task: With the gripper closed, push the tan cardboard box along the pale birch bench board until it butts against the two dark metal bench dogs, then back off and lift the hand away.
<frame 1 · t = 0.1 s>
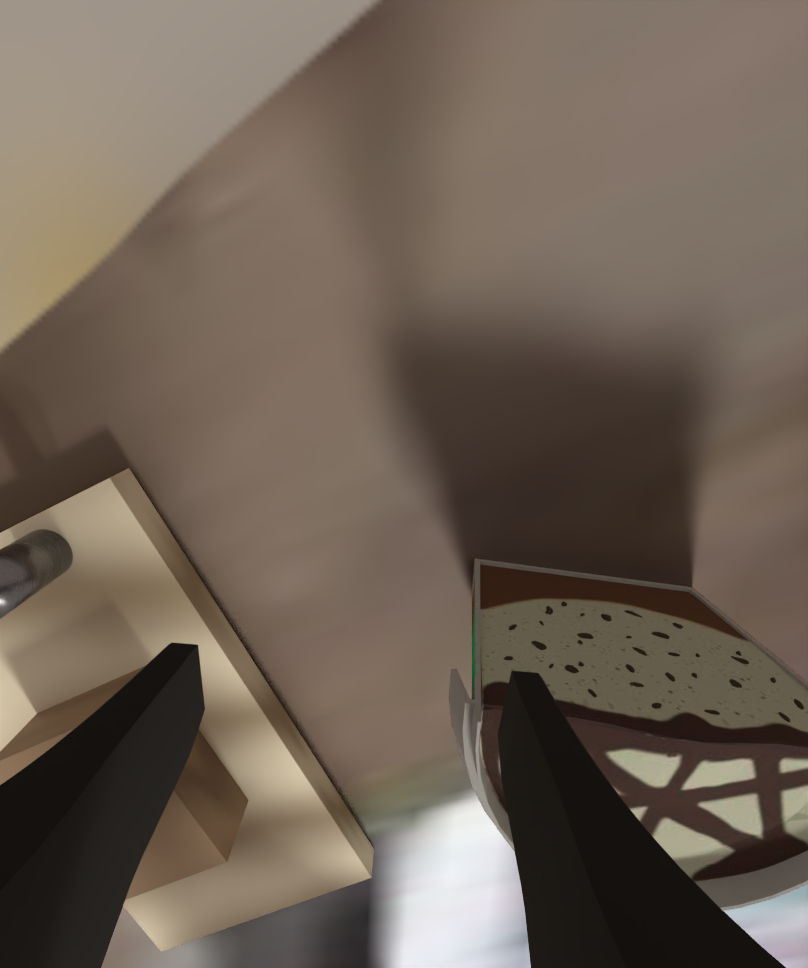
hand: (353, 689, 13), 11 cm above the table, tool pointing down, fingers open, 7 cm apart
food container: (566, 633, 24), on the table
bench dogs: (32, 557, 24), resting on bench board
bench board: (154, 725, 26), on the table
tan cardboard box: (145, 757, 25), point 1 cm above the table, touching bench board
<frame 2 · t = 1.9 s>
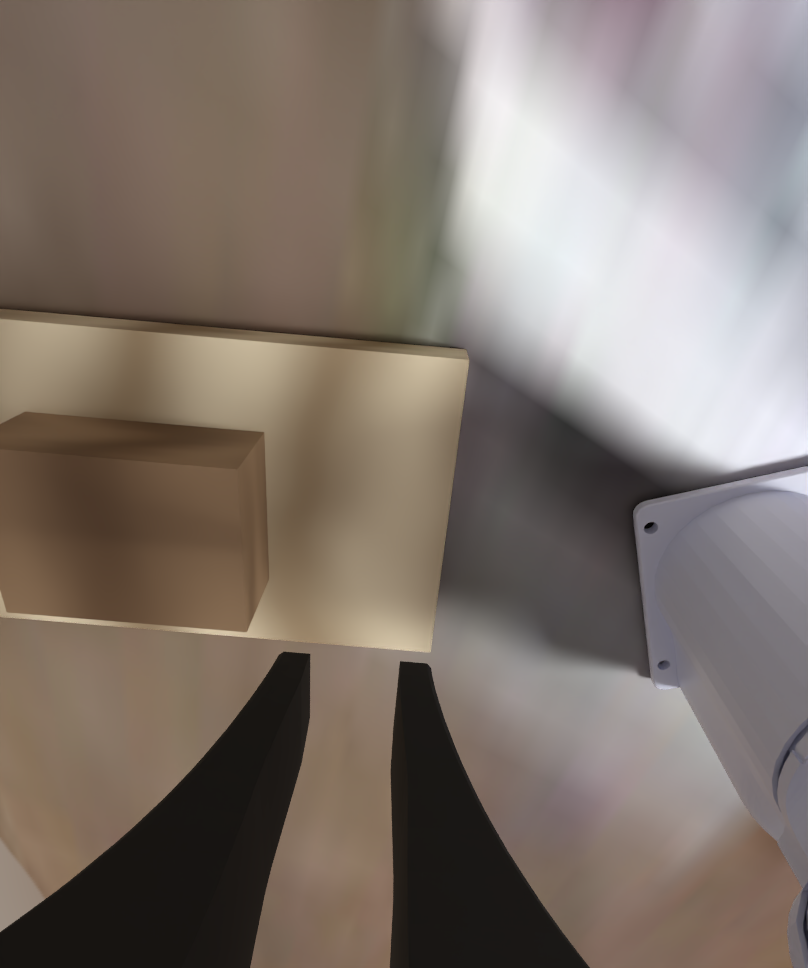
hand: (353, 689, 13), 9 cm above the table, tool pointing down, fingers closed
bench board: (159, 481, 21), on the table
tan cardboard box: (155, 501, 20), point 1 cm above the table, touching bench board
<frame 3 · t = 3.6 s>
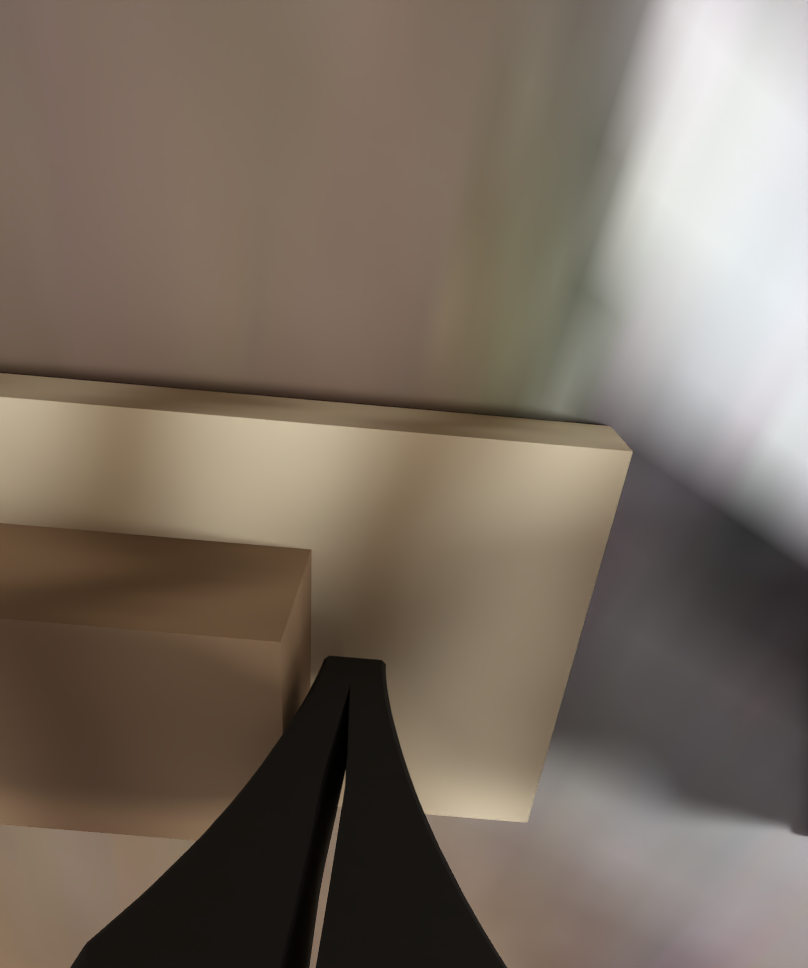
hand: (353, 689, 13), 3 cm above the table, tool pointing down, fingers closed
bench board: (156, 597, 15), on the table
tan cardboard box: (150, 637, 14), point 1 cm above the table, touching bench board, gripper
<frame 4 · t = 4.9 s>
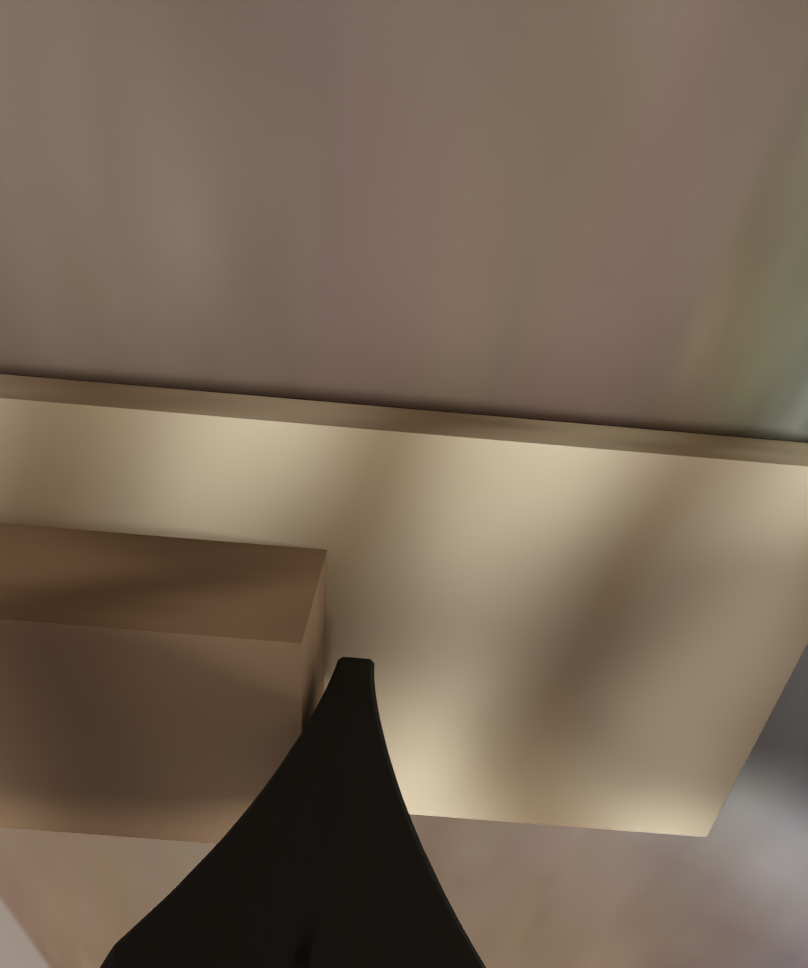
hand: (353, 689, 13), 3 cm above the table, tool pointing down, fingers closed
bench board: (352, 615, 15), on the table
tan cardboard box: (163, 638, 14), point 2 cm above the table, touching bench board, bench dogs, gripper
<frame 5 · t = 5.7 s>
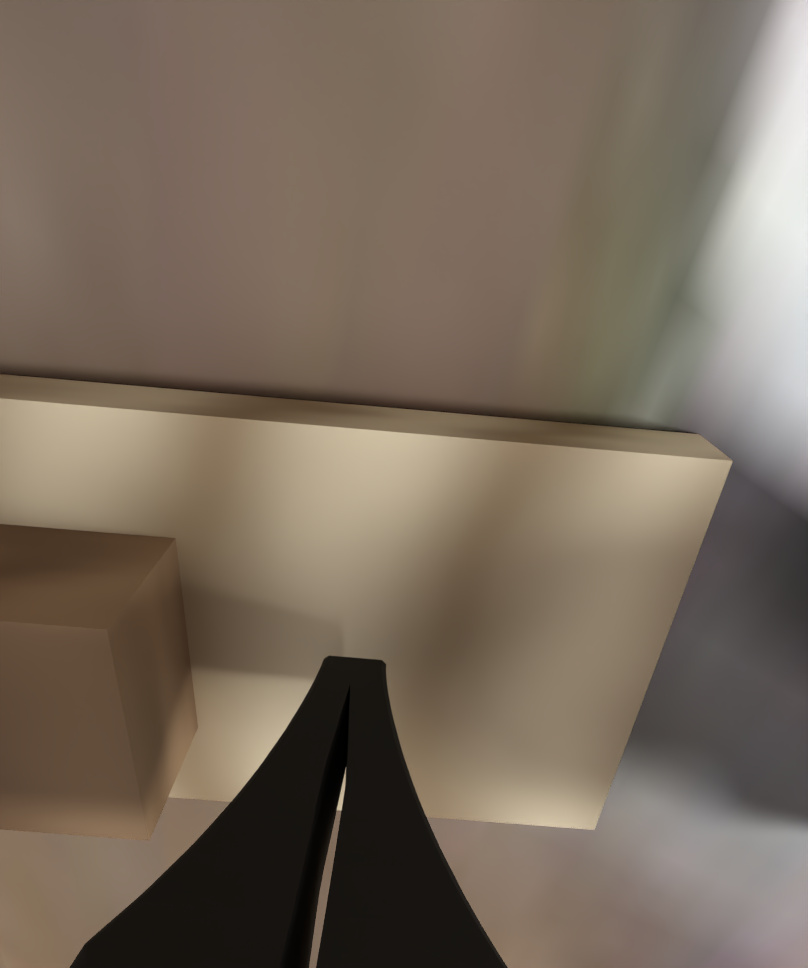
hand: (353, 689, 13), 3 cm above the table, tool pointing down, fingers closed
bench board: (227, 606, 15), on the table
tan cardboard box: (24, 628, 14), point 1 cm above the table, touching bench board
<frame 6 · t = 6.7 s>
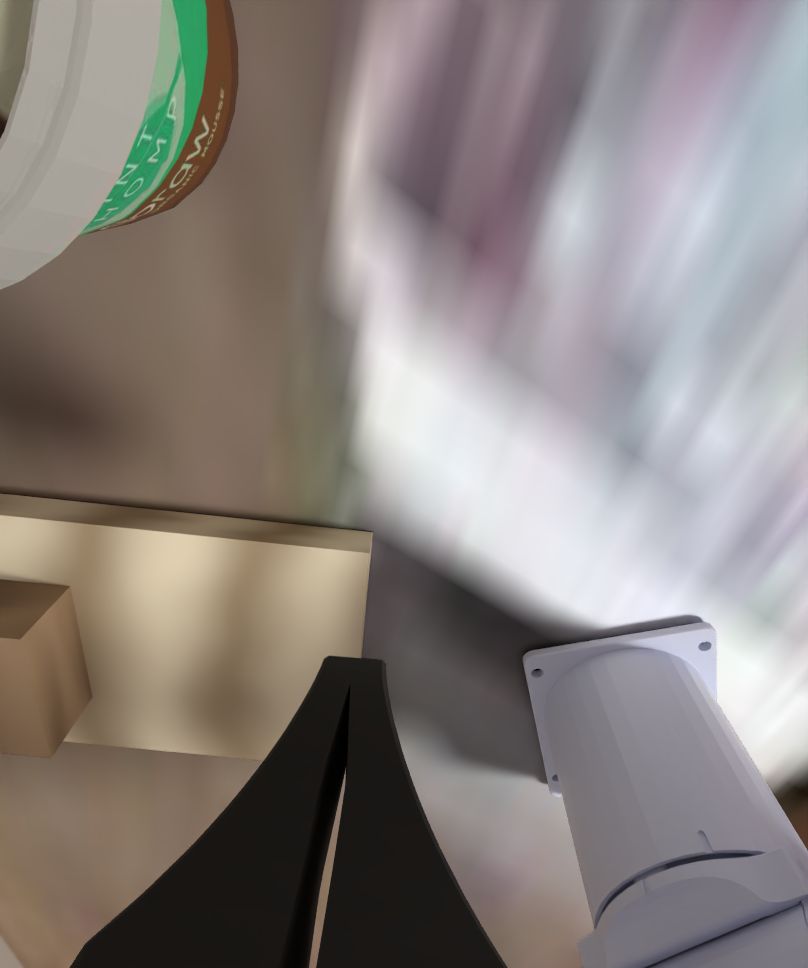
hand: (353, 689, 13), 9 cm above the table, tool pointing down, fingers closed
food container: (162, 116, 16), on the table
bench board: (112, 623, 24), on the table
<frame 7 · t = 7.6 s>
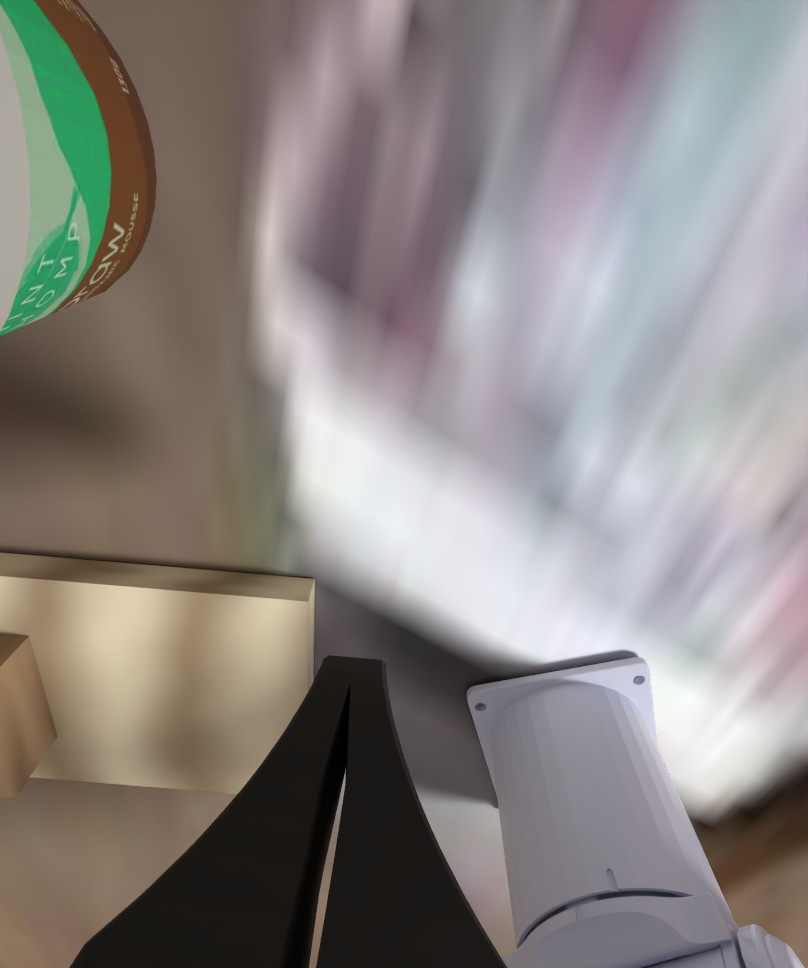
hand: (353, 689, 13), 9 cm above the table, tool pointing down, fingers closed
food container: (89, 210, 17), on the table
bench board: (75, 665, 25), on the table
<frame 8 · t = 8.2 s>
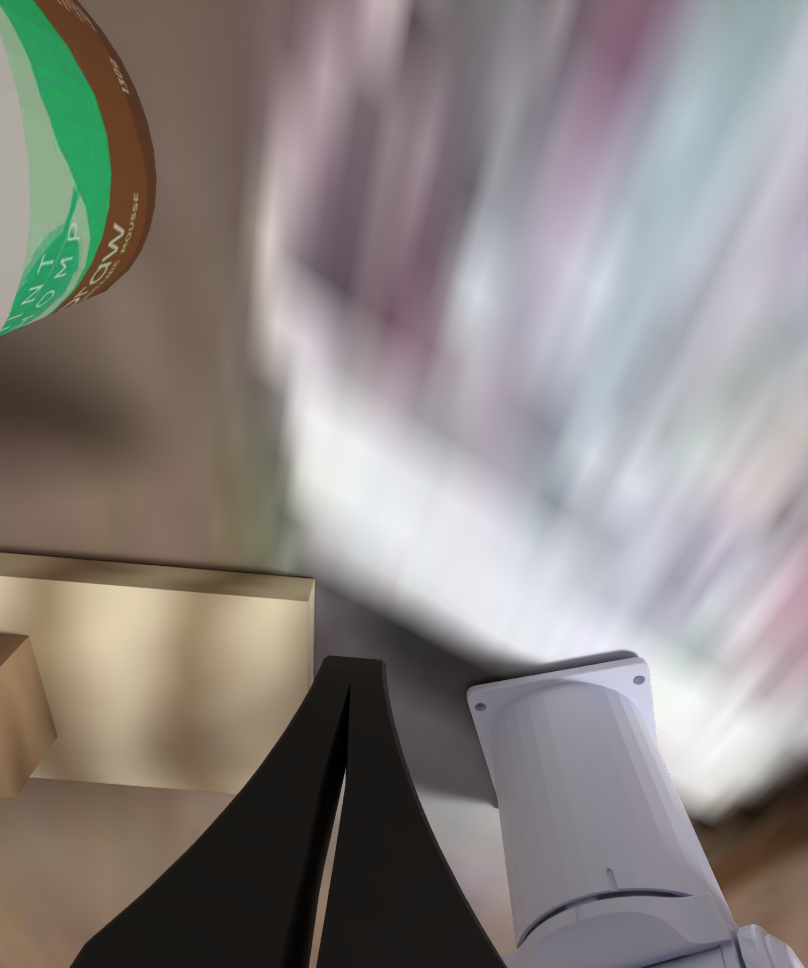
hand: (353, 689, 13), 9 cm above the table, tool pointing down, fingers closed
food container: (89, 210, 17), on the table
bench board: (75, 665, 25), on the table
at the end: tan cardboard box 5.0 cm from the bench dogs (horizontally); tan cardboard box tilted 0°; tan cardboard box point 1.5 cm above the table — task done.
